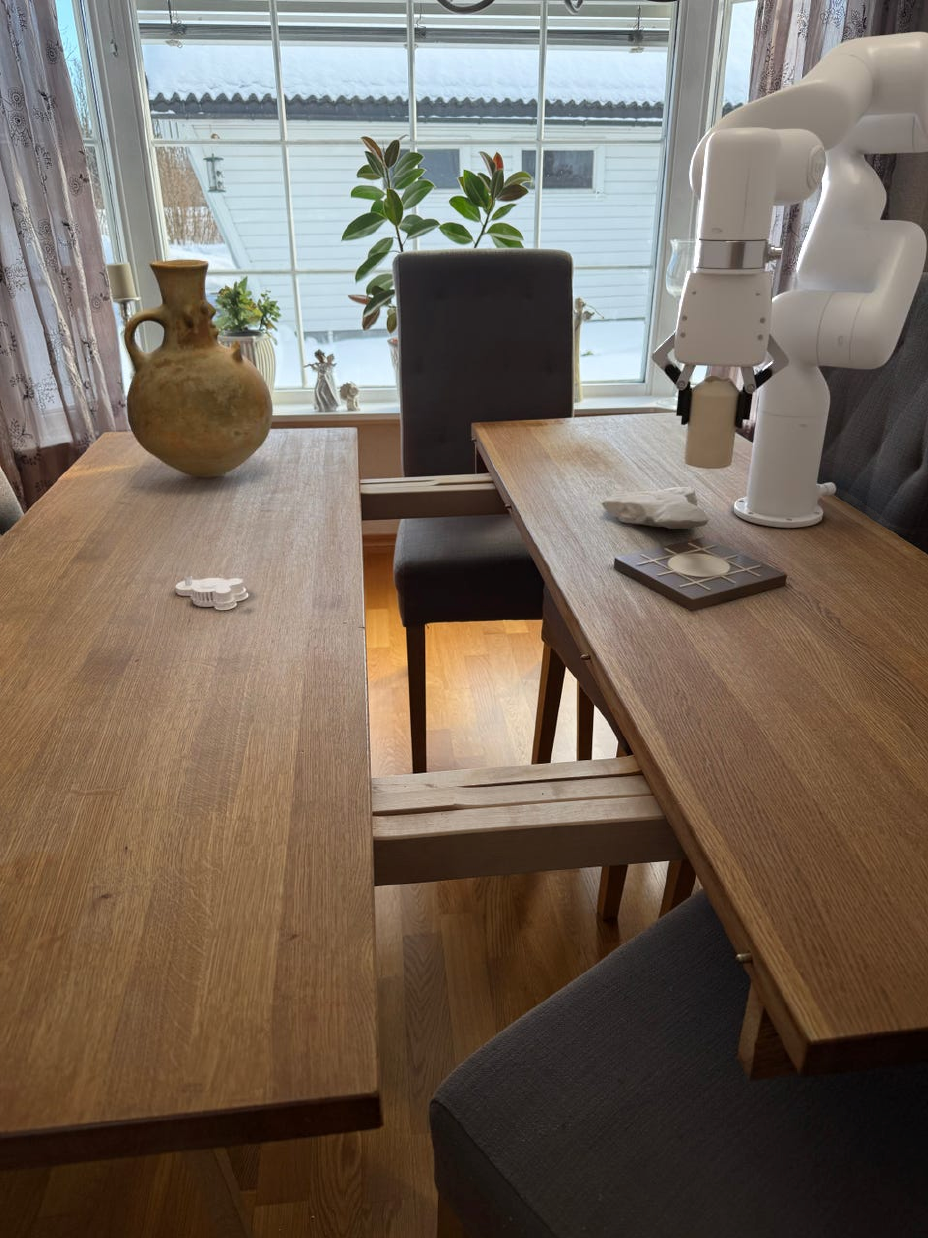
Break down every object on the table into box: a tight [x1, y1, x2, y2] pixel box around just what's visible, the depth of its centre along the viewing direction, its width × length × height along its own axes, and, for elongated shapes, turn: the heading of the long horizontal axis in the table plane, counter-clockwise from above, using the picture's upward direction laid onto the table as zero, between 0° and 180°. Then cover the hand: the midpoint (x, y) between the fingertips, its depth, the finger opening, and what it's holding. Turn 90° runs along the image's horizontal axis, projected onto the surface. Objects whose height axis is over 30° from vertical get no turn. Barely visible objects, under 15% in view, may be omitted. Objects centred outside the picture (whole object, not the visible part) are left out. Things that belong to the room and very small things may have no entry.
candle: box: [683, 375, 740, 470], centre depth 104 cm, size 6×6×10 cm
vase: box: [123, 258, 274, 478], centre depth 148 cm, size 24×24×35 cm
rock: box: [601, 486, 709, 530], centre depth 129 cm, size 21×5×15 cm
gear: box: [175, 574, 250, 611], centre depth 107 cm, size 9×9×2 cm
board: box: [613, 536, 788, 612], centre depth 111 cm, size 15×15×2 cm
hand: (712, 422), depth 104 cm, fingers closed on candle, 5 cm apart
